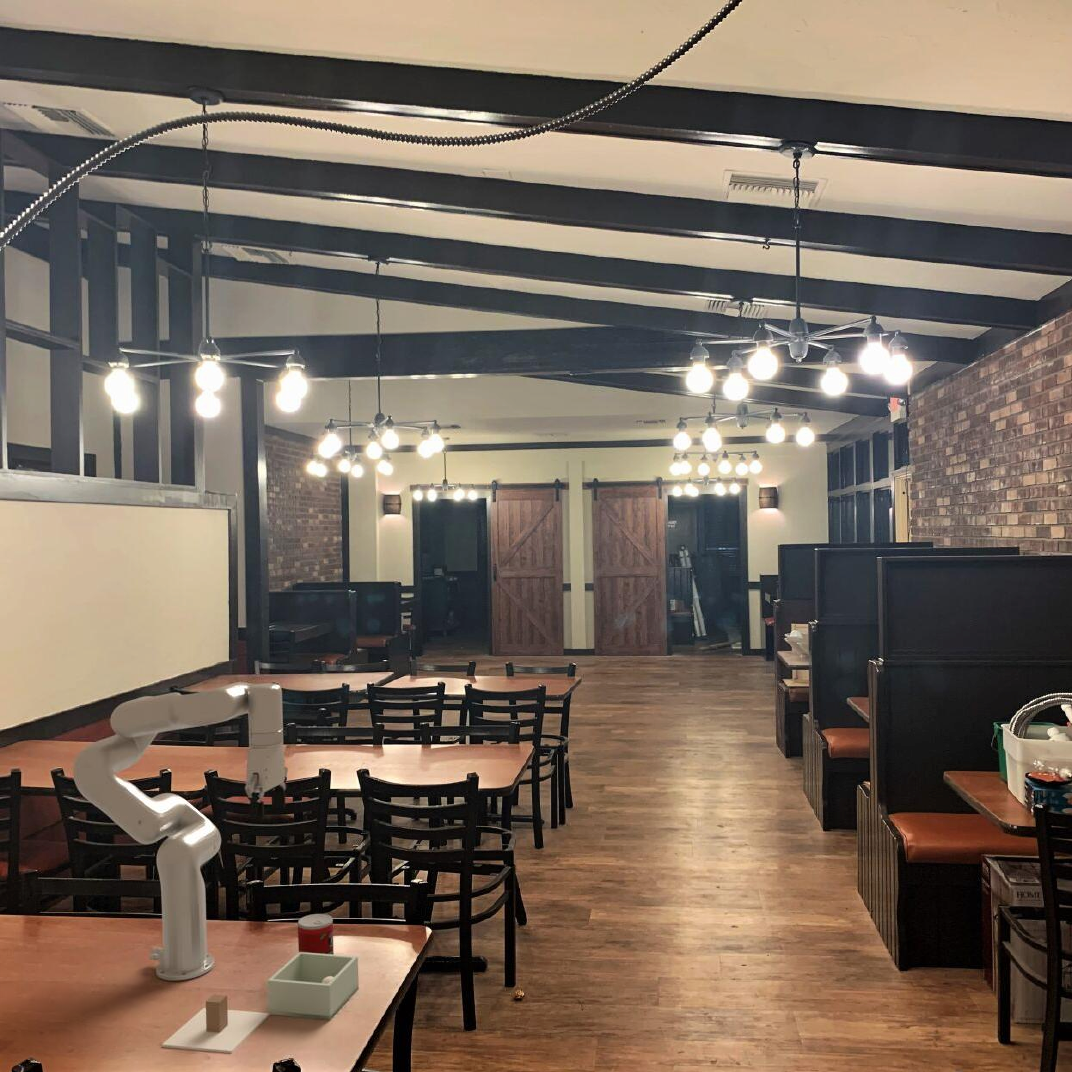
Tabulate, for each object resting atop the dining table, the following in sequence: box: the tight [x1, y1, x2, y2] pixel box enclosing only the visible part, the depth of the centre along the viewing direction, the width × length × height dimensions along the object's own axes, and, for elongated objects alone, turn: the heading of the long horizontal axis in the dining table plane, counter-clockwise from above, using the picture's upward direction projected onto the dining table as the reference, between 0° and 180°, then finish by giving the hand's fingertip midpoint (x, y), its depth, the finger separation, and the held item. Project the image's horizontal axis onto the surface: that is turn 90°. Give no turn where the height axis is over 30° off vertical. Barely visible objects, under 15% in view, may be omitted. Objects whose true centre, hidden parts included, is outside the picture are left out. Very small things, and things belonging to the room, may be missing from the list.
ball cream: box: [322, 976, 334, 984], centre depth 206 cm, size 4×4×4 cm
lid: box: [161, 994, 270, 1054], centre depth 193 cm, size 15×15×7 cm
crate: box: [267, 951, 360, 1021], centre depth 204 cm, size 14×14×7 cm
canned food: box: [297, 913, 335, 955], centre depth 221 cm, size 8×8×11 cm
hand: (268, 813), depth 219 cm, fingers open, 9 cm apart
